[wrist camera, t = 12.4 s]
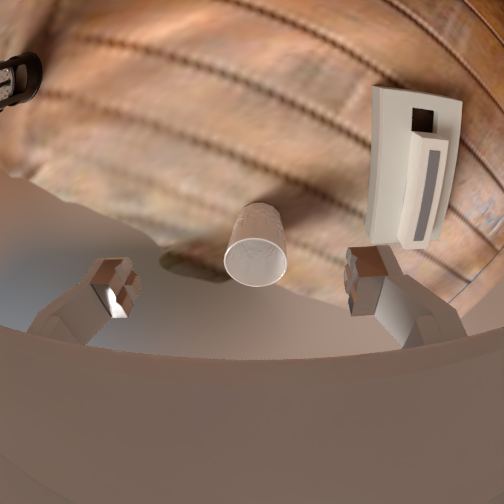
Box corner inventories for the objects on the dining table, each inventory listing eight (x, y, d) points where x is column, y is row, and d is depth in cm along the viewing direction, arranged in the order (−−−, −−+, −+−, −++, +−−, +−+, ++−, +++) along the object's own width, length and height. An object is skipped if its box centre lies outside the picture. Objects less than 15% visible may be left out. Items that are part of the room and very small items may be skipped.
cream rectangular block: (402, 125, 30) (422, 138, 26) (427, 128, 30) (449, 141, 25) (391, 226, 40) (404, 250, 35) (413, 226, 39) (427, 248, 35)
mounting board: (371, 85, 29) (383, 88, 25) (446, 96, 27) (462, 101, 24) (364, 227, 42) (371, 243, 39) (428, 225, 41) (438, 240, 37)
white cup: (285, 197, 40) (287, 236, 32) (286, 241, 45) (287, 286, 37) (230, 199, 41) (219, 238, 33) (236, 243, 46) (228, 287, 38)
